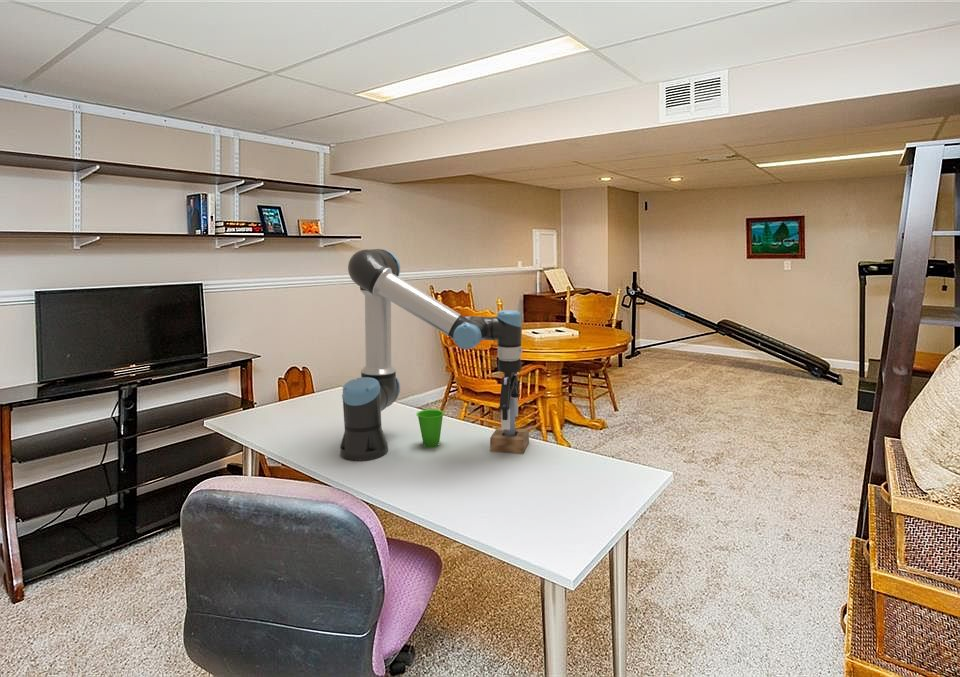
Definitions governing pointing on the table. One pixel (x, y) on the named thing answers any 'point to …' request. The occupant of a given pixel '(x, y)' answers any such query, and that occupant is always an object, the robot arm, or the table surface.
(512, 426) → the blue-grey rounded rod
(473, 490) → the table surface
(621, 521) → the table surface
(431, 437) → the cup
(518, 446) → the wooden socket block
